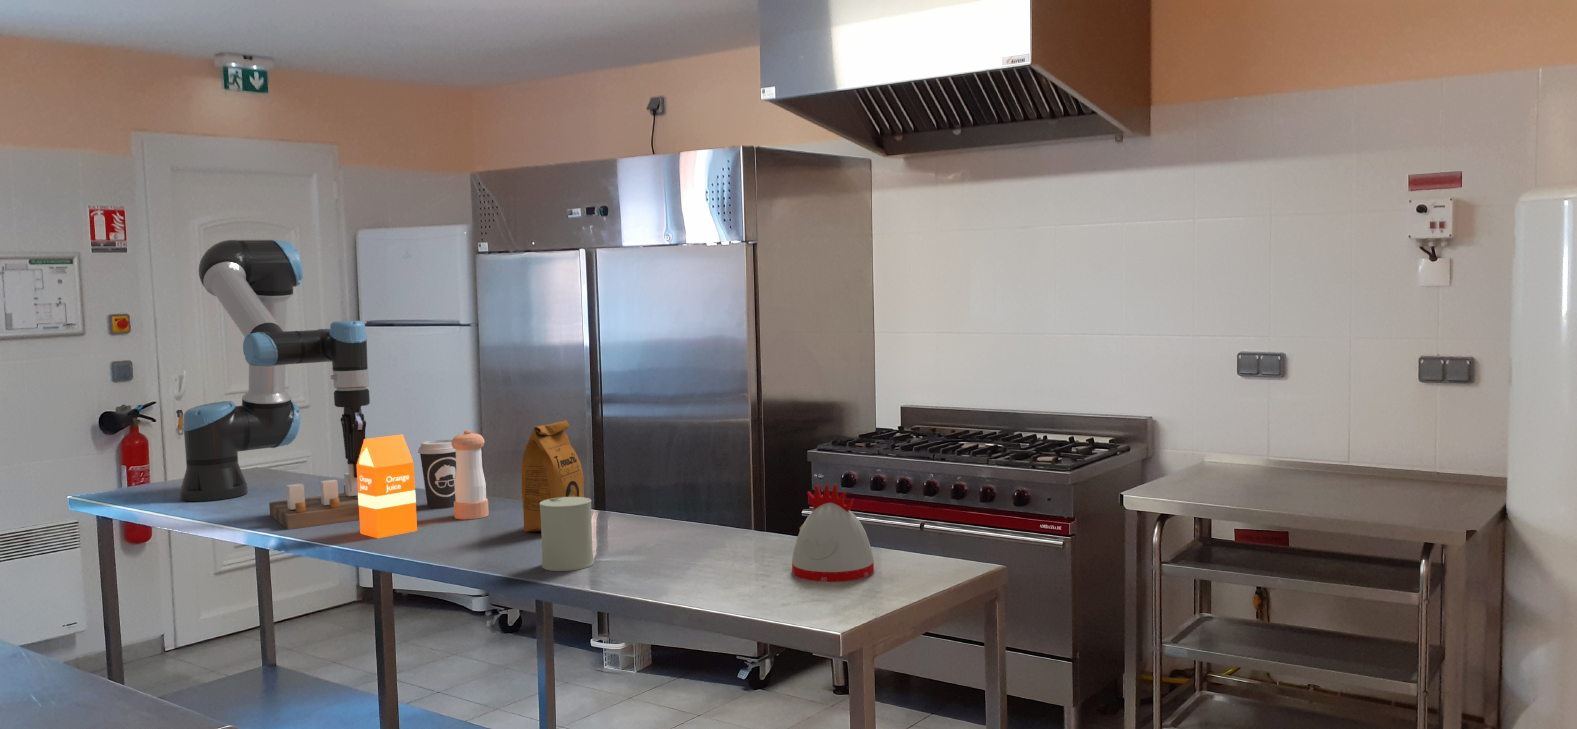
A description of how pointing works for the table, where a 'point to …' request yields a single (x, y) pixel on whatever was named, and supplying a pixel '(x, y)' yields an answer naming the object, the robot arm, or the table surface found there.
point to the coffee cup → (439, 472)
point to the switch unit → (316, 511)
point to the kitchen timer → (832, 541)
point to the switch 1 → (295, 495)
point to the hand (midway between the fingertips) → (357, 491)
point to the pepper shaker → (469, 477)
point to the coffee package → (548, 471)
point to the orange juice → (386, 487)
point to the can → (566, 533)
